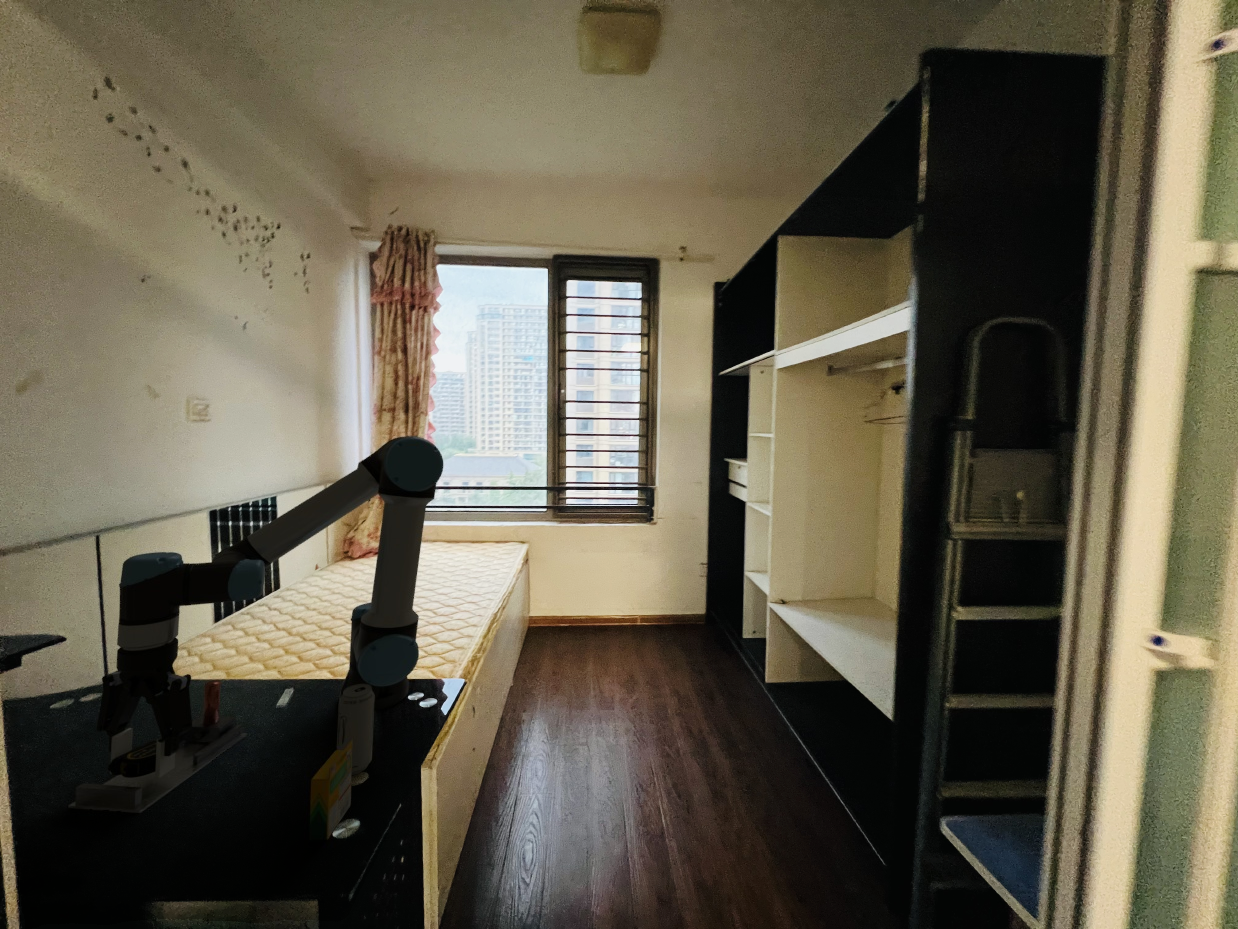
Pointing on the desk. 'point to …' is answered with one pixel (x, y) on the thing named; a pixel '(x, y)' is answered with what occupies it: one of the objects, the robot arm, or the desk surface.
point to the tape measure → (136, 761)
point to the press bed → (154, 778)
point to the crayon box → (330, 794)
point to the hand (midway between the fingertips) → (143, 770)
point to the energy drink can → (356, 724)
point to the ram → (210, 718)
